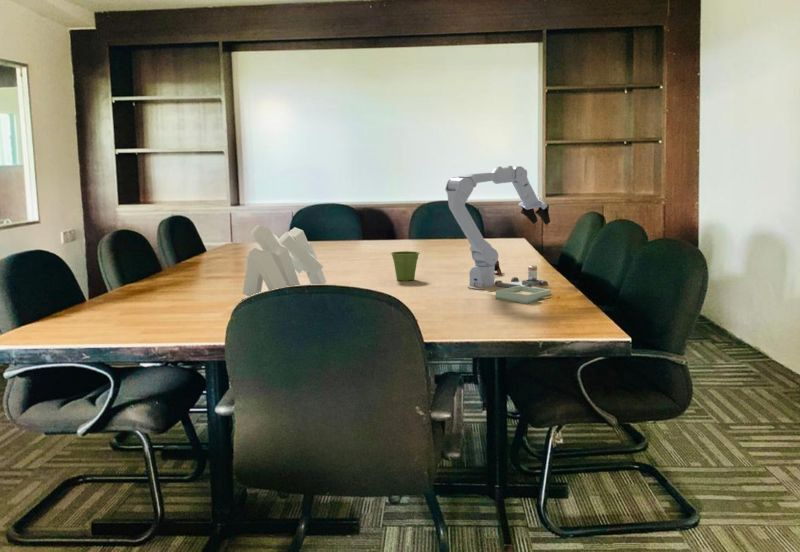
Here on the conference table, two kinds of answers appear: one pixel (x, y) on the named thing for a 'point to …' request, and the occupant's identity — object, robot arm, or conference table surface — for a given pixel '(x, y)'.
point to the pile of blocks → (280, 261)
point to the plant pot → (405, 264)
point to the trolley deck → (521, 283)
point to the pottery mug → (497, 267)
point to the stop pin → (532, 273)
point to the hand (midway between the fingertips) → (541, 222)
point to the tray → (522, 298)
